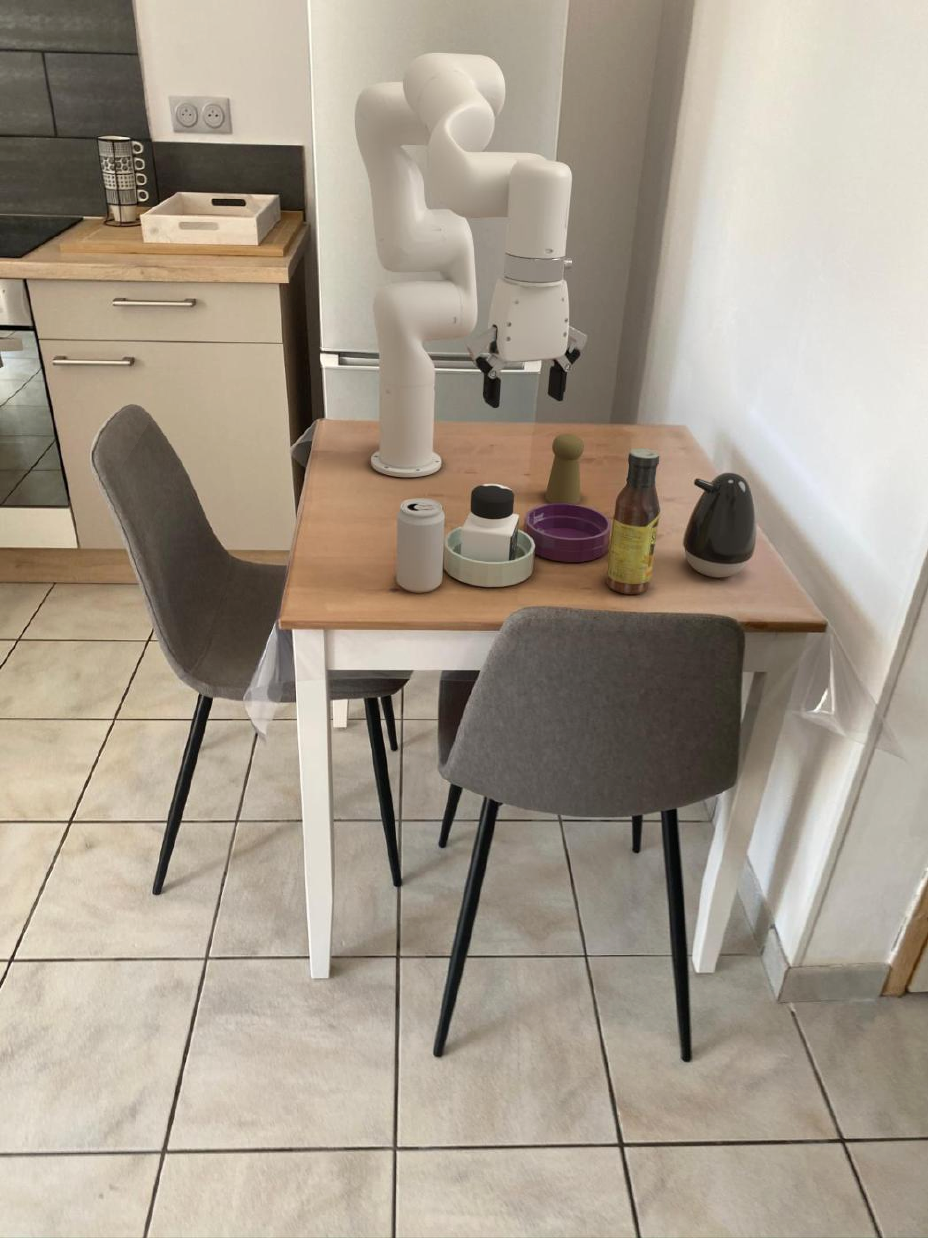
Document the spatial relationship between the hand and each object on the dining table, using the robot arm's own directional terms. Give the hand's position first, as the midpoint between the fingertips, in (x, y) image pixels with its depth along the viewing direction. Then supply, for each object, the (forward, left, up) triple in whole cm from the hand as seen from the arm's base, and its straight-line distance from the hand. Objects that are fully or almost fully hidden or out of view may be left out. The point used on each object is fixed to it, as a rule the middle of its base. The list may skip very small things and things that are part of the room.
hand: (523, 401), depth 129 cm
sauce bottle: (+12, +12, -24) cm, 30 cm away
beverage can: (+2, -16, -24) cm, 29 cm away
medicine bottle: (+1, -4, -24) cm, 24 cm away
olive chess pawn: (-18, +18, -24) cm, 35 cm away
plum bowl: (-2, +10, -24) cm, 26 cm away
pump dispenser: (+12, +27, -24) cm, 39 cm away
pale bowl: (+1, -4, -24) cm, 25 cm away
